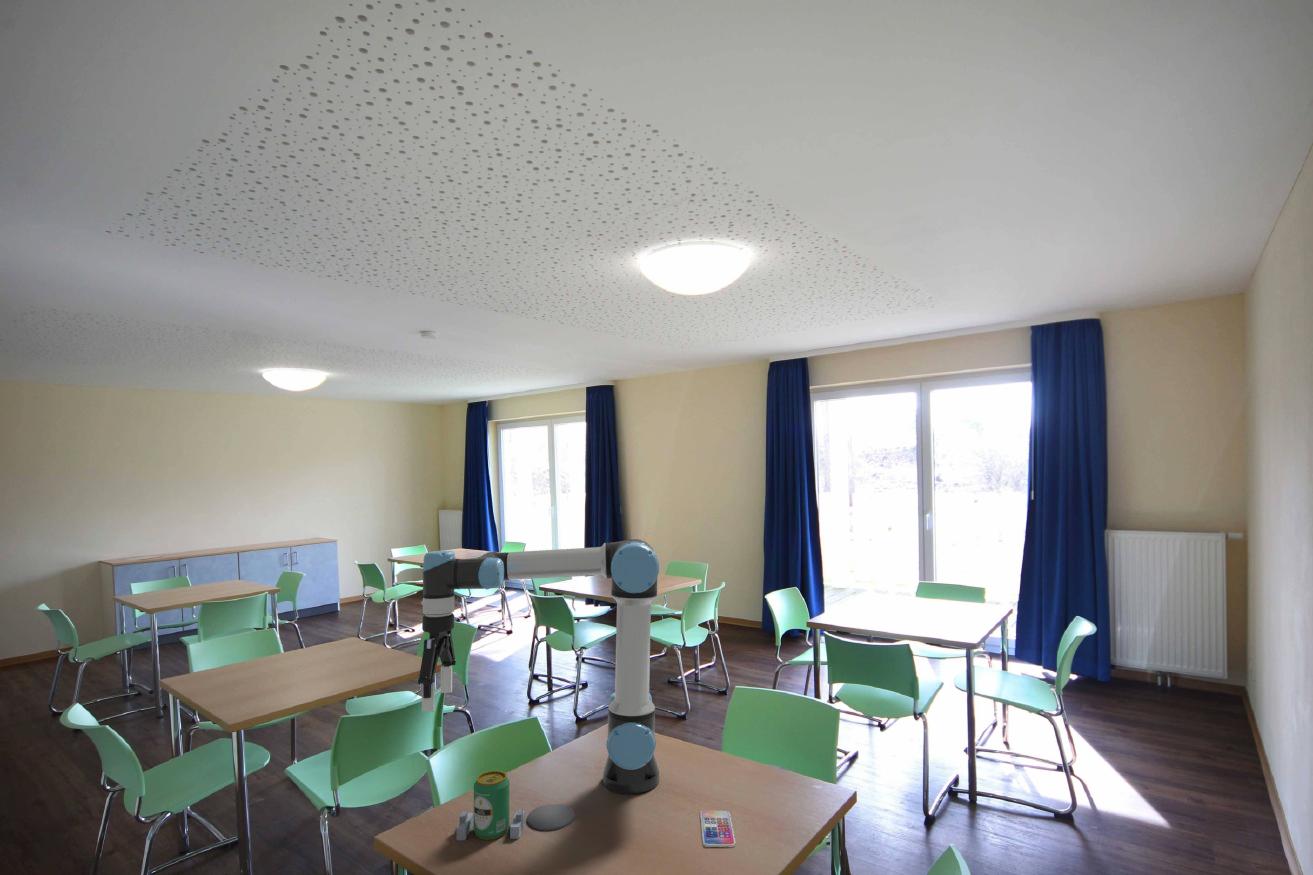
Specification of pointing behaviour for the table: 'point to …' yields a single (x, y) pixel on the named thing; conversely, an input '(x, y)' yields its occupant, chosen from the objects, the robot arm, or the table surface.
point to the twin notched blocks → (468, 822)
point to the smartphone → (716, 829)
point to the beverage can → (491, 805)
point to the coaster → (550, 817)
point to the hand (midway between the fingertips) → (437, 701)
